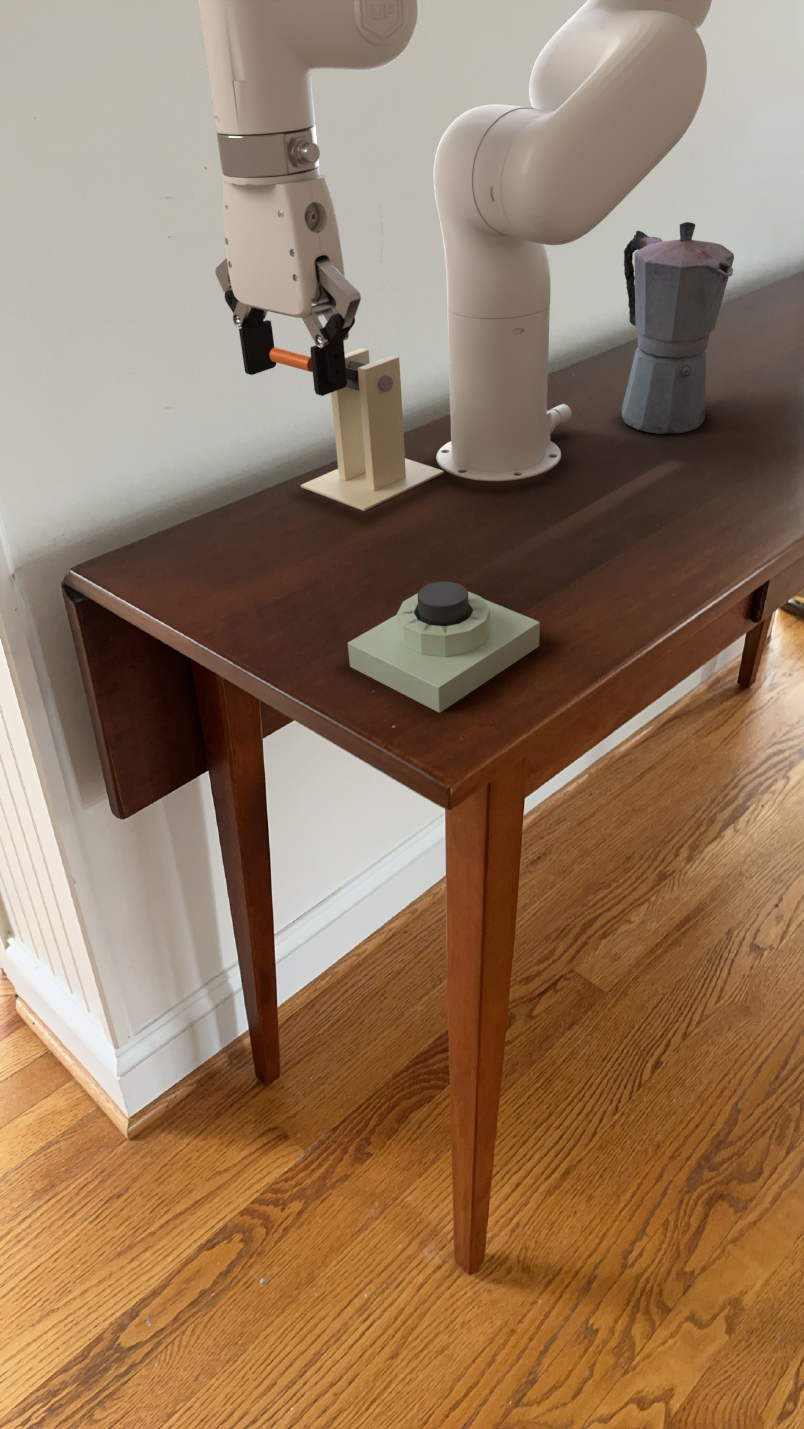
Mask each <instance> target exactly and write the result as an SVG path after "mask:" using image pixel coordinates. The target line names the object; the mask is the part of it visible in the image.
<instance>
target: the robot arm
mask: <svg viewBox="0 0 804 1429" xmlns="http://www.w3.org/2000/svg"><path fill="white" fill-rule="evenodd" d="M712 2H713V0H586V2H585V3H583V4H582V6H580V8H578V10H576V12H575V13H574V14H573V15H572V16H571V17H570V18H569V19H568V20H567V21H566V22H565V23H564V24H563V25H562V26H561V27H560V28H559V29H558V30H557V31H556V32H555V33H554V34H553V36H552V37H551V38H550V39H549V40H548V41H547V42H546V44H545V45H544V47H543V48H542V49H541V51H540V52H539V53H538V56H537V58H536V59H535V61H534V64H533V66H532V69H531V74H530V77H529V84H528V95H529V101H530V105H531V107H529V106H528V107H527V106H519V105H510V104H498V103H497V104H495V103H494V104H485V105H484V104H483V105H480V106H475V107H473V108H471V109H469V110H466V111H465V112H463V113H462V114H460V115H458V116H457V118H454V120H453V121H452V122H451V123H450V124H449V125H448V127H447V128H446V130H445V131H444V132H443V135H442V136H441V138H440V140H439V143H438V144H437V149H436V151H435V156H434V160H433V169H432V170H433V172H432V175H433V176H432V177H433V179H432V180H433V192H434V198H435V204H436V209H437V214H438V219H439V220H438V221H439V225H440V231H441V235H442V236H441V237H442V243H443V251H444V262H445V276H446V300H447V301H446V303H447V304H446V305H447V306H446V309H447V310H446V312H447V313H446V314H447V346H448V347H447V348H448V376H449V377H448V379H449V380H448V381H449V382H448V384H449V411H450V412H449V416H450V418H449V419H450V441H448V442H447V443H445V444H444V445H443V446H441V447H440V448H439V449H438V451H437V453H436V457H435V459H436V463H437V465H438V466H439V467H440V468H441V470H443V471H444V472H447V473H448V474H451V475H452V476H453V475H454V476H457V477H460V478H464V479H469V480H474V481H483V482H507V481H517V480H524V479H528V478H531V477H535V476H538V475H541V474H545V473H546V472H548V471H550V470H552V469H553V468H555V466H557V465H558V463H559V462H560V461H561V459H562V452H561V449H560V448H559V446H558V445H557V444H556V443H555V442H553V441H552V440H551V434H553V432H554V430H555V428H557V427H560V426H562V425H564V424H566V423H568V422H570V421H571V419H572V417H573V413H572V409H571V407H569V405H567V404H565V403H561V404H559V405H557V406H555V407H552V408H550V409H549V410H548V387H549V386H548V384H549V383H548V381H549V350H550V349H549V346H550V317H551V316H550V314H551V312H550V311H551V284H552V283H551V269H550V261H549V260H550V259H549V254H548V251H547V246H561V245H567V244H570V243H572V242H575V241H577V240H579V239H581V238H582V237H584V236H586V235H587V234H588V233H590V232H591V231H592V230H594V229H595V228H596V227H597V226H598V225H600V223H601V222H603V221H604V220H605V219H606V218H607V217H608V216H609V215H610V214H611V213H612V212H613V211H614V210H615V209H616V208H617V207H618V206H619V205H620V204H621V203H622V202H623V201H624V199H625V198H626V197H628V195H630V193H632V191H633V190H634V189H635V188H636V187H637V186H638V185H639V184H640V183H641V182H642V181H643V180H644V179H645V178H646V177H647V176H649V174H650V173H651V171H653V170H654V169H655V167H657V166H658V165H659V163H660V162H662V160H663V159H664V158H665V157H666V156H668V154H669V153H670V152H671V151H672V149H674V148H675V146H676V145H677V144H678V143H679V142H680V140H681V139H682V138H683V136H684V135H685V134H686V132H687V131H688V130H689V128H690V126H691V125H692V123H693V121H694V119H695V117H696V115H697V113H698V110H699V108H700V105H701V102H702V100H703V97H704V93H705V89H706V83H707V79H708V78H707V76H708V60H707V58H708V57H707V53H706V49H705V46H704V43H703V41H702V37H701V36H700V34H699V33H698V31H699V29H700V28H701V27H702V25H703V23H704V22H705V20H706V18H707V15H708V14H709V12H710V9H711V5H712ZM197 4H198V11H199V19H200V25H201V32H202V40H203V47H204V53H205V54H204V55H205V60H206V67H207V68H206V69H207V74H208V82H209V89H210V96H211V102H212V109H213V117H214V118H213V119H214V124H215V131H216V132H215V133H216V140H217V146H218V152H219V160H220V168H221V173H222V219H223V235H224V244H225V246H224V247H225V256H226V258H225V259H224V260H223V261H222V262H221V263H219V264H218V265H217V266H216V268H215V271H214V272H215V276H216V278H217V280H218V282H219V285H220V287H221V289H222V292H223V293H224V300H225V302H226V304H227V306H228V308H229V309H230V310H231V312H232V313H233V314H232V321H233V324H234V325H235V327H236V328H238V333H239V340H240V347H241V355H242V360H243V367H244V373H245V374H246V375H249V376H253V375H256V374H259V373H262V372H265V371H268V370H271V369H274V368H275V367H276V366H277V362H273V361H272V360H271V359H270V351H271V349H272V348H275V340H274V333H273V325H272V320H269V319H266V318H267V315H268V312H270V313H274V314H278V315H283V316H287V317H292V318H297V319H302V321H303V324H304V325H305V327H306V328H307V331H308V332H309V335H310V336H311V338H312V340H313V342H314V344H315V345H313V346H310V356H311V361H312V371H313V372H312V379H313V389H314V393H315V394H316V396H321V397H323V396H326V395H329V394H331V393H332V392H334V391H337V390H340V389H342V388H345V387H346V385H347V376H346V364H345V354H346V353H345V341H347V340H348V339H349V336H350V334H349V332H350V331H351V329H352V328H353V327H354V325H355V323H356V317H355V316H356V314H357V313H358V310H359V306H360V303H361V299H362V296H361V292H359V289H357V288H356V287H355V286H354V285H353V284H352V283H351V281H349V280H348V278H346V271H345V264H344V263H345V262H344V256H343V255H344V254H343V248H342V242H341V236H340V228H339V224H338V219H337V214H336V209H335V204H334V200H333V197H332V193H331V190H330V186H329V182H328V179H327V176H326V175H325V174H320V173H321V172H320V161H319V159H320V154H321V150H320V147H319V146H318V139H317V128H316V116H315V104H314V95H313V94H314V93H313V83H312V71H313V70H319V69H320V70H321V69H322V70H324V69H327V70H342V71H352V72H353V71H354V72H370V71H371V72H372V71H375V70H378V69H381V68H384V67H386V66H388V65H391V64H392V63H393V62H395V61H396V60H397V59H398V58H399V57H401V56H402V54H403V53H405V51H406V50H407V49H408V47H409V45H410V44H411V42H412V40H413V38H414V36H415V33H416V30H417V27H418V23H419V17H420V5H419V0H197ZM313 304H314V305H313ZM322 316H323V317H324V318H325V320H326V323H325V325H323V324H322V322H321V320H320V319H319V317H322ZM265 319H266V320H265Z"/></svg>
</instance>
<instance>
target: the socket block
mask: <svg viewBox="0 0 804 1429" xmlns="http://www.w3.org/2000/svg"><path fill="white" fill-rule="evenodd" d="M468 609H469V614H468V617H467V619H466V620H465V621H463V622H461V623H460V624H455V625H450V626H434V625H428V624H426V623H424V622H422V621H421V620H420V618H419V613H418V592H417V593H416V594H414V595H412V596H410V597H408V598H406V599H405V600H403V601H402V603H401V604H400V607H399V609H398V611H397V613H396V615H393V616H392V617H390V618H388V619H386V620H385V621H383V622H381V623H379V624H378V625H375V627H373V628H371V629H368V630H367V631H366V632H363V633H362V634H360V635H359V636H357V637H355V638H354V639H352V640H350V641H348V642H347V650H348V651H347V652H348V659H349V660H348V661H349V667H350V668H352V669H353V670H355V671H358V672H360V673H361V674H363V675H365V676H367V677H369V678H371V679H373V680H375V681H377V682H379V683H380V684H383V685H385V686H387V687H389V688H391V689H393V690H395V691H396V692H398V693H400V694H402V695H404V696H406V697H408V698H410V699H412V700H414V701H415V702H418V703H419V704H422V705H424V706H425V707H427V708H429V709H431V710H433V711H435V712H437V713H442V712H443V711H445V710H447V709H448V708H449V707H450V706H452V705H454V704H455V703H457V702H459V700H462V699H463V698H465V696H467V695H469V694H470V693H472V692H473V691H474V690H476V689H477V688H479V687H480V686H482V685H483V684H486V682H488V681H489V680H491V679H492V678H494V677H495V676H497V675H498V674H500V673H502V672H503V671H504V670H506V669H507V668H509V667H510V666H512V665H513V664H515V663H516V662H518V661H519V660H521V659H523V658H524V657H525V656H527V655H529V654H530V653H532V652H533V651H534V650H536V649H537V648H539V647H540V632H541V629H540V628H541V622H540V621H538V620H536V619H534V618H531V617H528V616H527V615H524V614H522V613H520V612H517V611H514V610H512V609H509V608H507V607H504V606H502V605H500V604H497V603H495V602H492V601H490V600H487V599H485V598H483V597H482V596H480V595H478V594H476V593H473V592H471V591H468Z"/></svg>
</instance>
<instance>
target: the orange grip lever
mask: <svg viewBox="0 0 804 1429" xmlns="http://www.w3.org/2000/svg"><path fill="white" fill-rule="evenodd" d="M270 359H271V360H272V361H273V362H276V364H281V365H284V366H288V367H292V368H294V369H295V368H296V369H298V370H302V371H306V372H309V373H313V371H312V361H311V355H306V354H304V353H303V354H302V353H299V352H295V351H291V350H287V349H284V348H279V347H275V346H274V348H272V349H271V351H270ZM364 365H367V364H364V363H360V362H356V361H352V360H350V361H349V365H348V368H347V367H346V376H347V385H346V387H347V388H351V389H354V390H358V391H359V379H358V368H359V367H361V366H364Z"/></svg>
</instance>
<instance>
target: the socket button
mask: <svg viewBox="0 0 804 1429" xmlns="http://www.w3.org/2000/svg"><path fill="white" fill-rule="evenodd" d="M468 592H469V591H468V590H467V588H466V587H465V586H463V585H462V584H461V583H460V584H459V583H456V582H453V581H438V582H437V581H436V582H432V583H428V584H426V585H424V586H423V587H421V588H420V589H419V590H418V592H417V593H418V613H419V618H420V620H421V621H422V622H424V623H426V624H428V625H434V626H450V625H455V624H460V623H461V622H463V621H465V620H466V619H467V617H468V614H469V609H468Z"/></svg>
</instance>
